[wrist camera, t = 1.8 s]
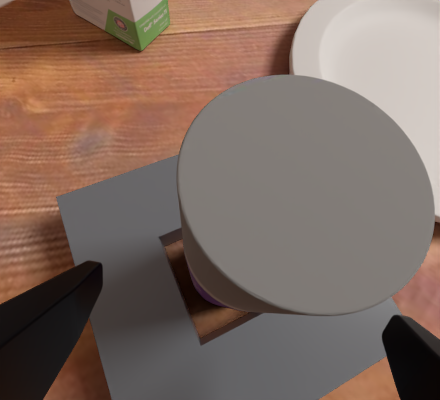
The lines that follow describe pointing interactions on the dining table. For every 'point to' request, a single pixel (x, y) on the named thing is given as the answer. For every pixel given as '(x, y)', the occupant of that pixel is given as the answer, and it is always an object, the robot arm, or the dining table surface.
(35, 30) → the dining table surface
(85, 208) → the socket block
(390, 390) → the dining table surface
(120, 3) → the ink box
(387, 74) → the plate
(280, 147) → the container
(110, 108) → the dining table surface
